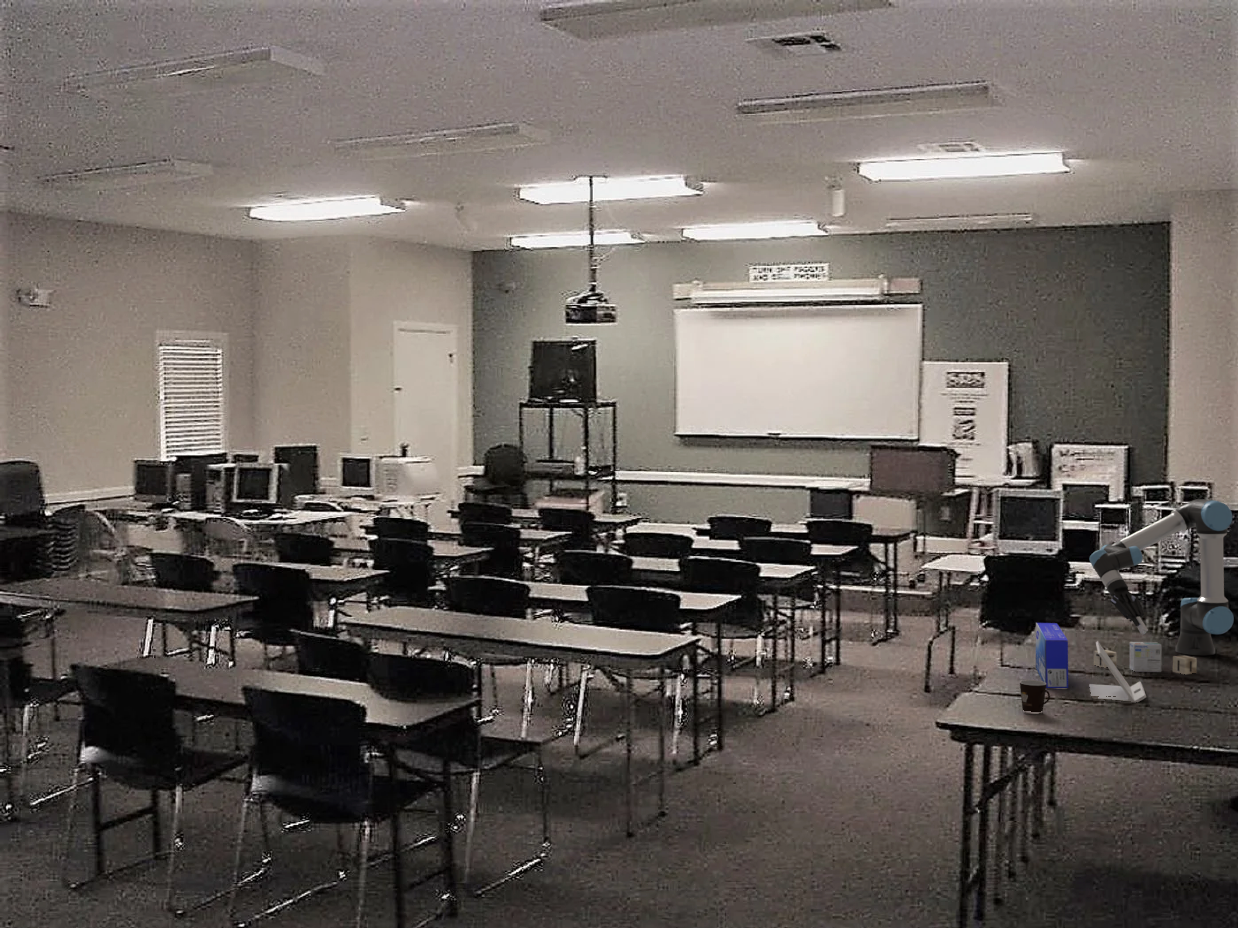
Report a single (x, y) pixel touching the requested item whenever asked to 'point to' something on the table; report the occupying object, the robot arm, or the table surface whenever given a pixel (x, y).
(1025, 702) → the coffee mug
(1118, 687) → the tablet stand
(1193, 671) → the birch block one
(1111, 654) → the birch block seven
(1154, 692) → the table surface
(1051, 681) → the toner cartridge box
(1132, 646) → the light bulb box
